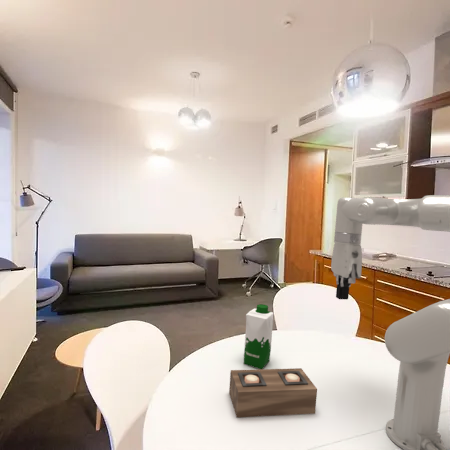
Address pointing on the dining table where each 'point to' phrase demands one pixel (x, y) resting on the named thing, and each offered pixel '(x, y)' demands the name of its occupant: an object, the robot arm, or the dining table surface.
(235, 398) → the walnut block
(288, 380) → the peg
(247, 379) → the peg
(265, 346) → the milk carton
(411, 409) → the robot arm
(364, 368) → the dining table surface
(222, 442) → the dining table surface
